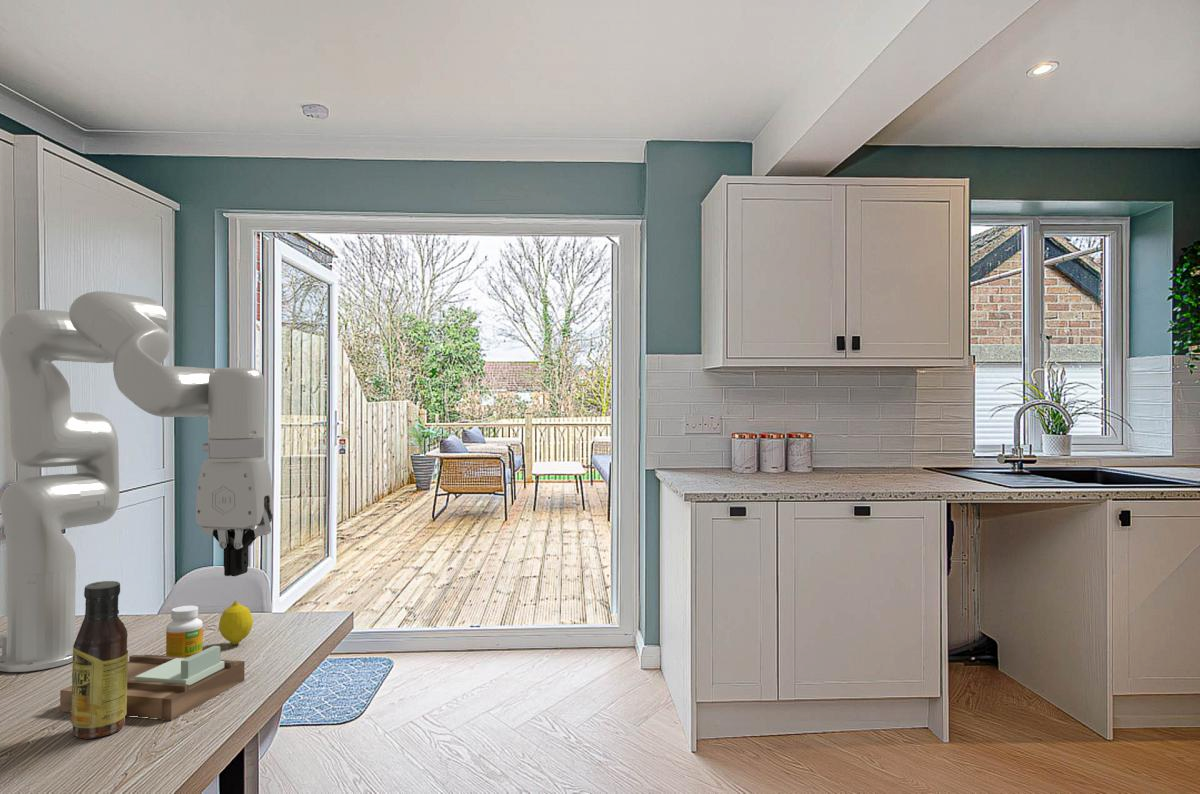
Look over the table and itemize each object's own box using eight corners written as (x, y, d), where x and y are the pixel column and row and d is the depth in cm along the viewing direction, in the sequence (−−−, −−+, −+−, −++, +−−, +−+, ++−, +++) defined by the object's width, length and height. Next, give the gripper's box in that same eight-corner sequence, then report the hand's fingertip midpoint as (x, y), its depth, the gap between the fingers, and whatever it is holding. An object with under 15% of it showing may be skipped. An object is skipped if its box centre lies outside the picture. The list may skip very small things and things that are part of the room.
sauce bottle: (66, 731, 103) (68, 583, 103) (120, 717, 107) (121, 575, 107) (77, 746, 98) (78, 591, 98) (132, 732, 103) (133, 583, 103)
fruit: (230, 651, 136) (231, 606, 136) (212, 646, 139) (212, 602, 139) (258, 643, 141) (259, 599, 141) (240, 638, 144) (241, 595, 144)
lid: (134, 683, 112) (134, 659, 112) (176, 664, 120) (176, 641, 120) (185, 687, 110) (186, 662, 110) (224, 667, 118) (224, 645, 118)
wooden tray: (60, 711, 109) (60, 684, 109) (145, 672, 125) (145, 649, 125) (171, 720, 106) (171, 693, 106) (244, 680, 122) (244, 656, 122)
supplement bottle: (186, 673, 125) (187, 613, 125) (158, 670, 126) (158, 611, 126) (209, 662, 130) (210, 605, 131) (182, 660, 132) (182, 603, 132)
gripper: (173, 451, 111) (173, 578, 111) (266, 452, 109) (266, 581, 109) (208, 449, 119) (208, 567, 119) (296, 449, 116) (296, 570, 116)
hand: (236, 574), depth 114 cm, fingers closed
